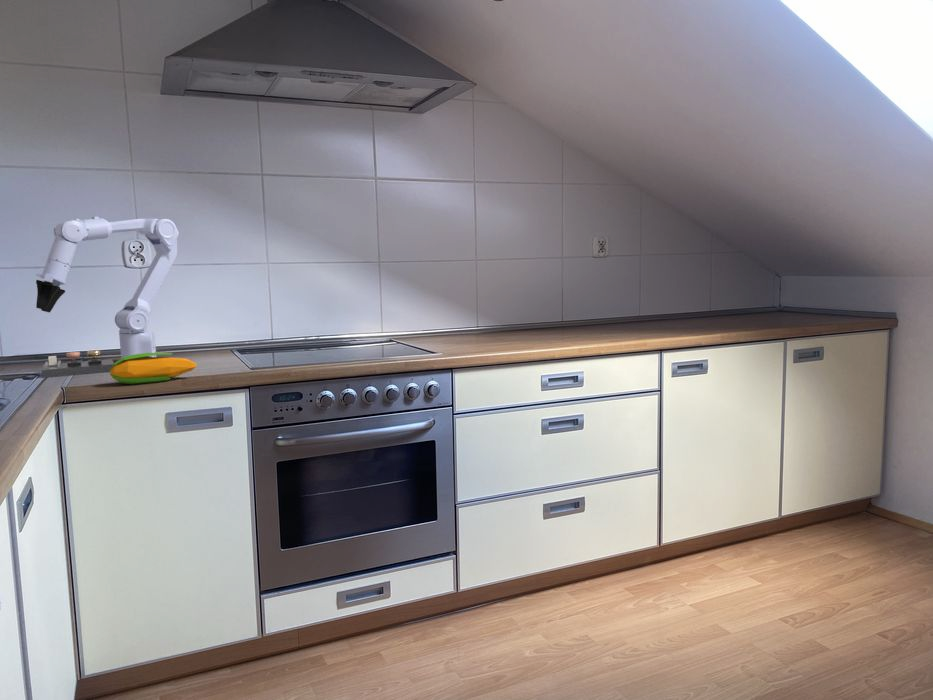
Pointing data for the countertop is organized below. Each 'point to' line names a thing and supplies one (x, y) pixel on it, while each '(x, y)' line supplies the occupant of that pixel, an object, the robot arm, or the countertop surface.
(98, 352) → the brass button
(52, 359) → the slider knob
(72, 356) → the terracotta button
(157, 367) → the corn
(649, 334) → the countertop surface
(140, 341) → the robot arm
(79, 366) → the panel
